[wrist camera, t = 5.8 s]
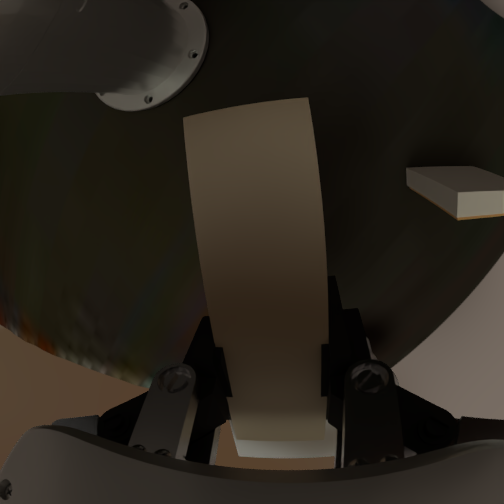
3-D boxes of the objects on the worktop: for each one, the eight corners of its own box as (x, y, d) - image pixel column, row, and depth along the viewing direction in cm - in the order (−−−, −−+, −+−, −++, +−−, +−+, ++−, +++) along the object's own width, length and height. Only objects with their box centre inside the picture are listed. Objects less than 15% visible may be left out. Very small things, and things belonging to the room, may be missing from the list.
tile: (405, 167, 21) (457, 192, 13) (473, 166, 19) (532, 190, 11) (406, 187, 21) (456, 221, 13) (473, 184, 20) (530, 214, 12)
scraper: (188, 150, 10) (132, 132, 6) (344, 130, 9) (370, 95, 5) (240, 449, 13) (225, 500, 9) (343, 447, 12) (347, 502, 8)
